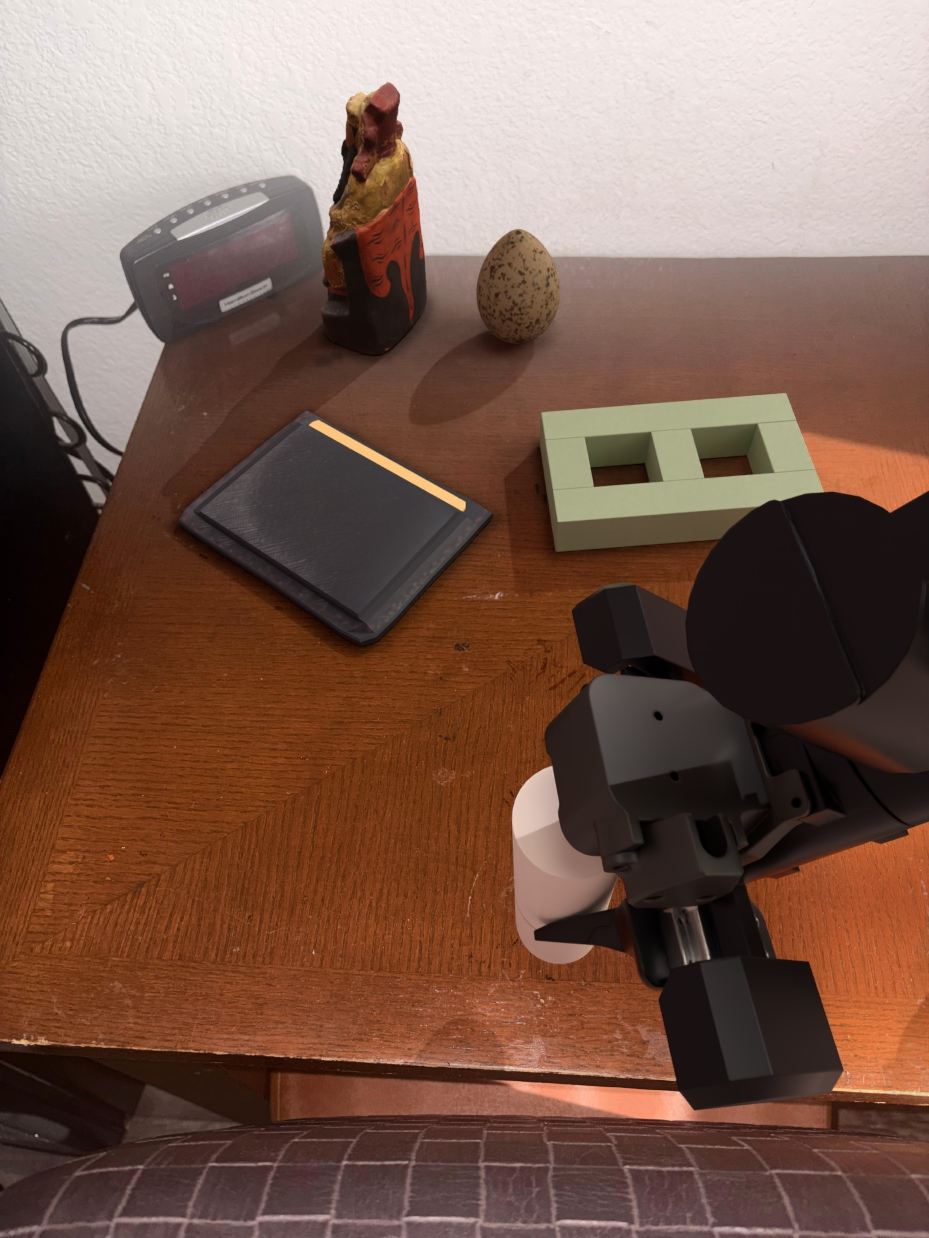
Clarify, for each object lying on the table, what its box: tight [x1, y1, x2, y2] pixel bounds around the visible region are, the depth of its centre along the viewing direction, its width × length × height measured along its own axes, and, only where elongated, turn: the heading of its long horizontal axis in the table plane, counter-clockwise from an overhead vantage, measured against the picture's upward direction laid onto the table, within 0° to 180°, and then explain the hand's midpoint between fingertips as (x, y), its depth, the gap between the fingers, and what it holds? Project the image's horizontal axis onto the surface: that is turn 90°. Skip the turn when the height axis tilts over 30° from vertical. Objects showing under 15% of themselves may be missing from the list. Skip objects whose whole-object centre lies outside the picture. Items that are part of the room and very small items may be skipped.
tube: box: [511, 765, 619, 965], centre depth 37 cm, size 4×4×15 cm
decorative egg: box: [475, 228, 561, 344], centre depth 71 cm, size 7×7×10 cm
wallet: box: [177, 409, 494, 648], centre depth 64 cm, size 20×2×15 cm
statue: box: [320, 81, 428, 356], centre depth 69 cm, size 12×8×20 cm, turn 149°
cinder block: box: [539, 392, 825, 553], centre depth 64 cm, size 11×19×4 cm, turn 93°
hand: (531, 881), depth 36 cm, fingers closed on tube, 4 cm apart
